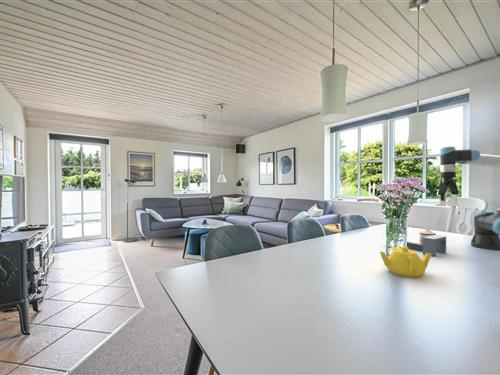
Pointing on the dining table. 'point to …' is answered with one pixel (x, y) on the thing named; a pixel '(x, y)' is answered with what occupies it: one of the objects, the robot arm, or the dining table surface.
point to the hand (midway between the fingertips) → (448, 205)
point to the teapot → (406, 262)
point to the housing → (434, 244)
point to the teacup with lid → (425, 234)
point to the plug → (415, 246)
